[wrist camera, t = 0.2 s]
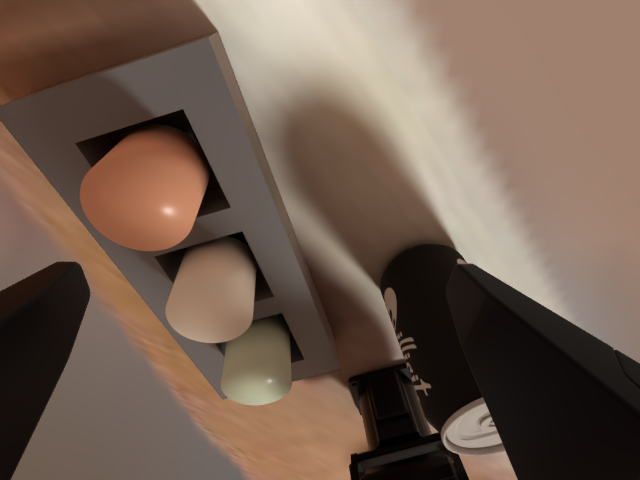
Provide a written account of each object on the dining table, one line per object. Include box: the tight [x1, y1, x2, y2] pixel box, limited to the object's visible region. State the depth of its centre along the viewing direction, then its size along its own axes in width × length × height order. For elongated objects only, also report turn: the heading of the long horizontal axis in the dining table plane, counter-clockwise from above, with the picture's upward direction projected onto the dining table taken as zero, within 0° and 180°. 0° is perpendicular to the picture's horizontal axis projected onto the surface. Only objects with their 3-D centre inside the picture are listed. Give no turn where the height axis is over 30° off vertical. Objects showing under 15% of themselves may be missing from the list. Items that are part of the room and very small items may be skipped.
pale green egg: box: [221, 315, 292, 405], centre depth 25 cm, size 5×5×4 cm
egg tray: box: [0, 32, 340, 399], centre depth 23 cm, size 24×10×3 cm, turn 15°
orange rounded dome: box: [80, 124, 210, 251], centre depth 17 cm, size 5×5×4 cm
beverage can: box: [381, 244, 505, 456], centre depth 23 cm, size 7×7×12 cm
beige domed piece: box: [165, 236, 257, 343], centre depth 21 cm, size 5×5×4 cm
